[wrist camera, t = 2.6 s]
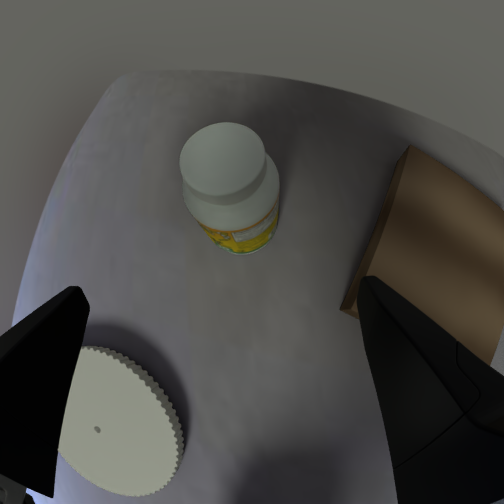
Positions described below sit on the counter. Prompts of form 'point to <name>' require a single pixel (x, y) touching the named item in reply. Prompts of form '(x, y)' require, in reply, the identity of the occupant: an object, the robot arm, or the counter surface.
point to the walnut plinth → (440, 251)
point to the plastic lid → (119, 425)
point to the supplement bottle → (231, 186)
